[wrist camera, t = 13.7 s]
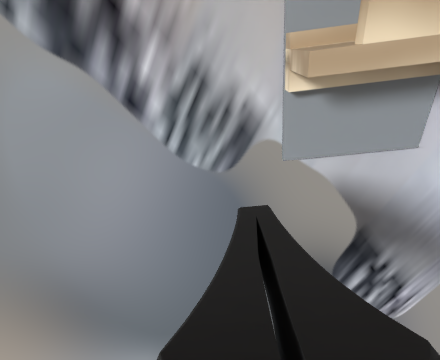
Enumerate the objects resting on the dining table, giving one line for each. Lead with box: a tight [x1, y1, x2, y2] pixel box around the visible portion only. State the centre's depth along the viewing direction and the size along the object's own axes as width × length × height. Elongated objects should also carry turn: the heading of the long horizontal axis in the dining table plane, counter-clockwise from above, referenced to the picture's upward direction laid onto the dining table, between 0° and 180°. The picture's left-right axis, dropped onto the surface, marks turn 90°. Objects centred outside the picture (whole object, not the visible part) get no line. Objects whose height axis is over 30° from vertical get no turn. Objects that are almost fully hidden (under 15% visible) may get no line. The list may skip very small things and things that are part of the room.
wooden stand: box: [285, 0, 440, 92], centre depth 13 cm, size 6×11×5 cm, turn 97°
